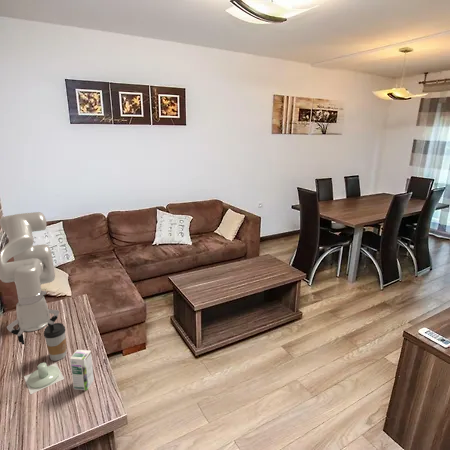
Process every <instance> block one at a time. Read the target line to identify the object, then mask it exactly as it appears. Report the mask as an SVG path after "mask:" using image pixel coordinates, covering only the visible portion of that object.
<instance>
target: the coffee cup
mask: <svg viewBox="0 0 450 450" xmlns="http://www.w3.org/2000/svg"><path fill="white" fill-rule="evenodd" d="M53 326H54V330H53V334H50V332H49V328H48V326H47V325H46V326H45V327H44V331H43V337H44V338H45V343H46V348H47V352H48V354H49V358H50V360H51V361H54V362H55V361H56V362H58V361H60V360H62V359H64V358H65V357H66V355H67V338H66V327H65V325H64V324H63V323H62V322H54V324H53Z"/></svg>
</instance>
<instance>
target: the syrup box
mask: <svg viewBox="0 0 450 450" xmlns="http://www.w3.org/2000/svg"><path fill="white" fill-rule="evenodd" d="M69 365H70V369H71V378H72V386H73V389H74V390H77V391H88V390H89V388H90V387H91V385H92V384H93V382H94V381H95V377H94V366H93V359H92V350H87V349H76V351H74V353H72V356H70V358H69Z"/></svg>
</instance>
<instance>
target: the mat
mask: <svg viewBox="0 0 450 450" xmlns="http://www.w3.org/2000/svg"><path fill="white" fill-rule="evenodd" d="M49 366H55V367H57V368H58V369H59V376H58V378H57V379H56V380H55V381H54V382H53V383H51V384H50V385H48V386H45V387H42V388H32V387H30V386H29V385H28V378H29V376H30V375H31V374H32V373H33V372H31V373H29V374H27V375H24V376H23V378H24V381H25V385H26V386H27V389H28V391H29V395H30V396H31V395H32V394H35V393H36V392H39V391H41V390H43V389H45V388H48V387H50V386H52V385H55V384H56V383H58V382H60V381H62V380H65V377H64V375H63V373H62V371H61V369H60V368H59V366H58V364H57V362H55V363H52V364H50V365H49Z"/></svg>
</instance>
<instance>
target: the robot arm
mask: <svg viewBox="0 0 450 450" xmlns="http://www.w3.org/2000/svg"><path fill="white" fill-rule="evenodd" d="M0 227H1V230H2V231H3V232H4V234H5V235H6V236H7V239H8V242H7V243H6V244H5V245H4V246H3V247H2V249H1V250H0V281H1V282H2V283H13V282H14V284H15V289H16V294H17V299H18V302H17V303H16V305H15V306H16V310H15V311H16V319H15V320H13V321H12V322H11V323H10V324H8V325H7V326H6V329H7V331H9V332H10V333H11V334H12V335H16V336H17V338H18V339H17V340H18V343H21V345H25V337H24V334H23V333H24V332H34V331H39V330H41V329H43V328H46V327H47V325H48V328H49V332H50V334H53V330H54V326H53V324H54V323H56V320H57V319H58V316H59V314H60V311H59V310H58V309H50V308H49V306H48V304H47V300H46V299H45V295H46V294H47V291H46V290H42V286H41V285H44V284H45V285H46V284H49V283H53V281H55V278H56V272H55V266H54V260H53V259H54V258H53V255H52V250H51V247H50V246H49V245H48V244H44V243H43V244H38V245H37V244H36V245H34V236H33V232H40V231H45V230H46V228H47V219H46V216H45V215H44V214H43V212H39V211H38V212H37V211H35V212H25V213H16V214H11V215H6V216H5V215H4V216H2V217H1V218H0ZM12 258H13V261H9V260H11V259H12ZM50 314H52V317H51V315H50ZM17 325H18V328H17V329H16V328H14V327H16V326H17Z"/></svg>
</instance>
